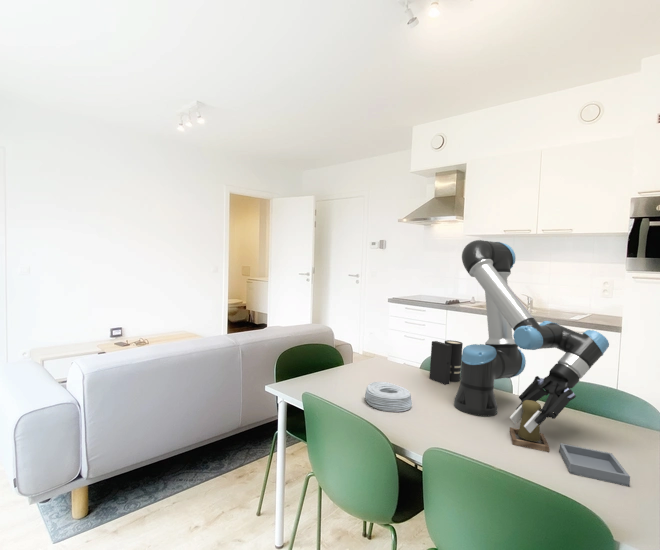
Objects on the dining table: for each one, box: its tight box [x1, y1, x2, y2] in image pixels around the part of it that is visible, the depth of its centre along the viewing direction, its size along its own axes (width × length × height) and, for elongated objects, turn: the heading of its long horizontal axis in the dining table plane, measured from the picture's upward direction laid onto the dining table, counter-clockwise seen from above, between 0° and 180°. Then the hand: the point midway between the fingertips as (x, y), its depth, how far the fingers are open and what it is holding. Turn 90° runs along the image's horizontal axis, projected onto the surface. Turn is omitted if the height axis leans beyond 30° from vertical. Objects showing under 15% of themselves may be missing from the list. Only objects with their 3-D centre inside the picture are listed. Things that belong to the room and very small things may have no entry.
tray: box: [558, 442, 631, 487], centre depth 98 cm, size 13×13×2 cm
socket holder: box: [509, 427, 550, 453], centre depth 112 cm, size 10×10×2 cm
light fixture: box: [428, 339, 463, 386], centre depth 171 cm, size 10×14×18 cm
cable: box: [364, 381, 413, 413], centre depth 137 cm, size 18×18×6 cm
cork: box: [518, 400, 542, 443], centre depth 111 cm, size 6×6×11 cm
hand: (519, 424), depth 111 cm, fingers closed on cork, 5 cm apart
